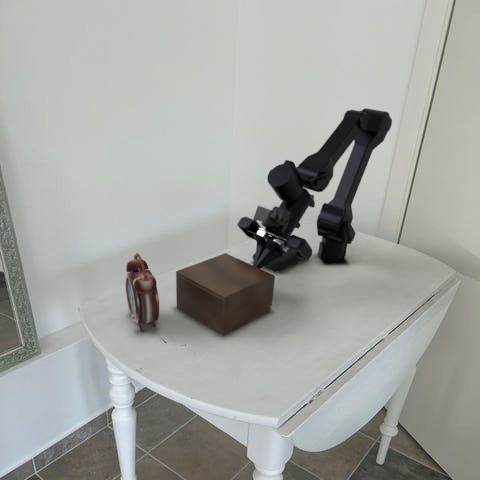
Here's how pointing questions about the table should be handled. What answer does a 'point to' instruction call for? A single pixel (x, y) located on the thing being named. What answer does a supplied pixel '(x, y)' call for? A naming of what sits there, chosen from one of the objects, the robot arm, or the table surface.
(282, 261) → the carrying case
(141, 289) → the alarm clock
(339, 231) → the robot arm
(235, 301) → the cabinet
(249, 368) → the table surface
